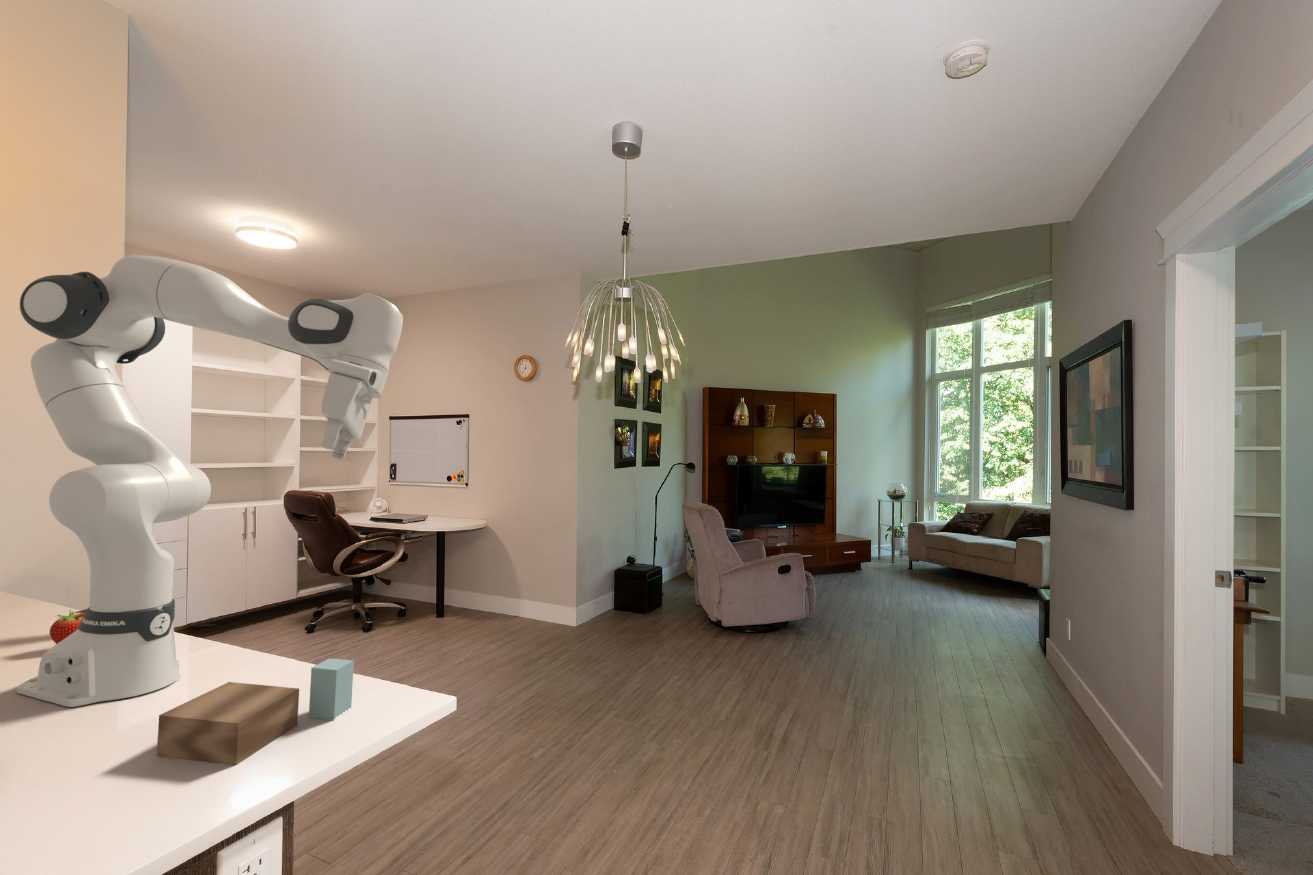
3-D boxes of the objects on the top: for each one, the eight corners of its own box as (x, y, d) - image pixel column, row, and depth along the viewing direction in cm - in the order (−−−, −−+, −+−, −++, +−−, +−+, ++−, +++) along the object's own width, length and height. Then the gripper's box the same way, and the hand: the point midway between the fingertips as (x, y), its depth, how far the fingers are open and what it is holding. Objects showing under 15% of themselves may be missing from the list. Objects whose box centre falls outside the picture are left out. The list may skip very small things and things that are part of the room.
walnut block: (156, 758, 83) (159, 715, 83) (226, 719, 95) (228, 681, 95) (236, 767, 82) (238, 723, 82) (297, 726, 94) (299, 688, 94)
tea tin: (308, 717, 97) (311, 667, 97) (326, 705, 101) (329, 658, 101) (334, 720, 96) (336, 670, 96) (351, 708, 101) (353, 660, 101)
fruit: (67, 654, 118) (69, 613, 118) (41, 653, 118) (43, 612, 118) (93, 645, 123) (95, 606, 123) (68, 644, 123) (70, 605, 124)
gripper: (348, 391, 116) (324, 459, 113) (329, 356, 98) (299, 436, 94) (382, 400, 118) (360, 467, 114) (370, 367, 99) (343, 447, 95)
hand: (332, 453), depth 104 cm, fingers open, 8 cm apart
